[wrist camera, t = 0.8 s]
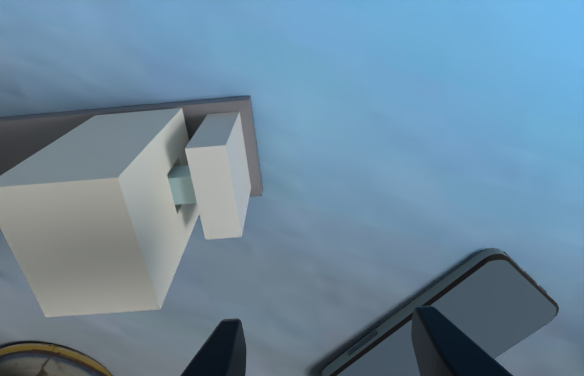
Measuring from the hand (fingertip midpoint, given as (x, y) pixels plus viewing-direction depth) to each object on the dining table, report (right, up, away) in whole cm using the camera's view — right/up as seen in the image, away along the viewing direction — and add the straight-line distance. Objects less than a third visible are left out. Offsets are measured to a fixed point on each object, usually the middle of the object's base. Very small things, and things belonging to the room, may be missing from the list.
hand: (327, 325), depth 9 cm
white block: (-8, +4, +10) cm, 13 cm away
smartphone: (+9, -7, +18) cm, 21 cm away
